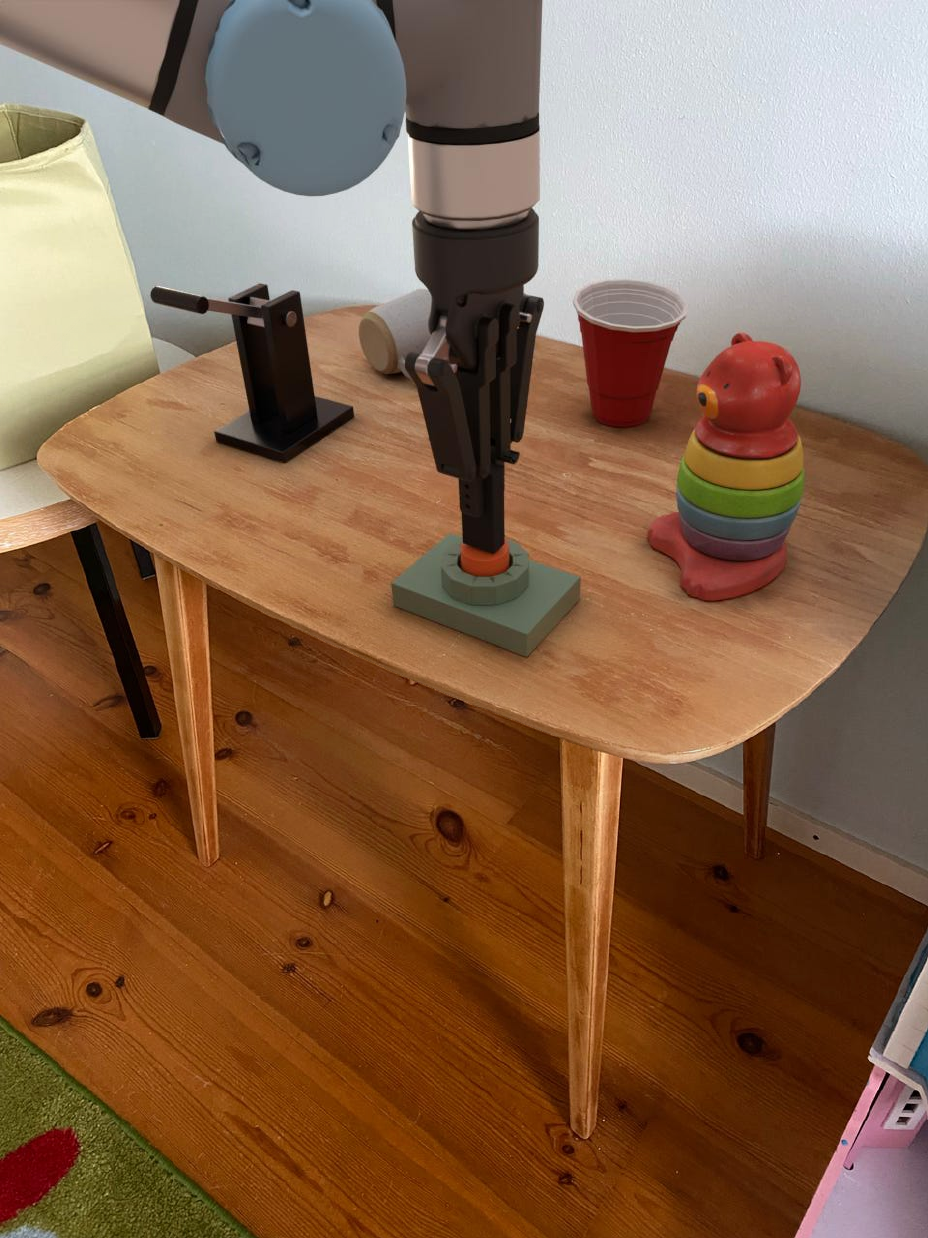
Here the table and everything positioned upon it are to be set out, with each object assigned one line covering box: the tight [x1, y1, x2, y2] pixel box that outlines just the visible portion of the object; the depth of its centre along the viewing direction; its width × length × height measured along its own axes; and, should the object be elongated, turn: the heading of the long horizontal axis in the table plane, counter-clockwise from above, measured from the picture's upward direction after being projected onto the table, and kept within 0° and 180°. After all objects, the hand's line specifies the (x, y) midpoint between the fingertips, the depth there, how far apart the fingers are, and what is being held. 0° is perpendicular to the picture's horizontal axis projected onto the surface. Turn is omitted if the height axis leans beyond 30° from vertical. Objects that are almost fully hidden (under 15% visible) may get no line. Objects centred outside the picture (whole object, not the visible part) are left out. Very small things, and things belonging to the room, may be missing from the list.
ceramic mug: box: [358, 288, 432, 382], centre depth 107 cm, size 11×8×8 cm
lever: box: [150, 285, 272, 327], centre depth 88 cm, size 13×6×2 cm, turn 147°
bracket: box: [213, 282, 355, 464], centre depth 95 cm, size 11×9×14 cm
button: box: [460, 540, 509, 577], centre depth 73 cm, size 4×4×2 cm
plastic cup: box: [572, 278, 690, 428], centre depth 96 cm, size 11×11×12 cm
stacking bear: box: [646, 332, 805, 601], centre depth 74 cm, size 11×10×18 cm
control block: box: [390, 532, 582, 658], centre depth 75 cm, size 12×8×4 cm, turn 56°
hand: (483, 543), depth 72 cm, fingers closed
